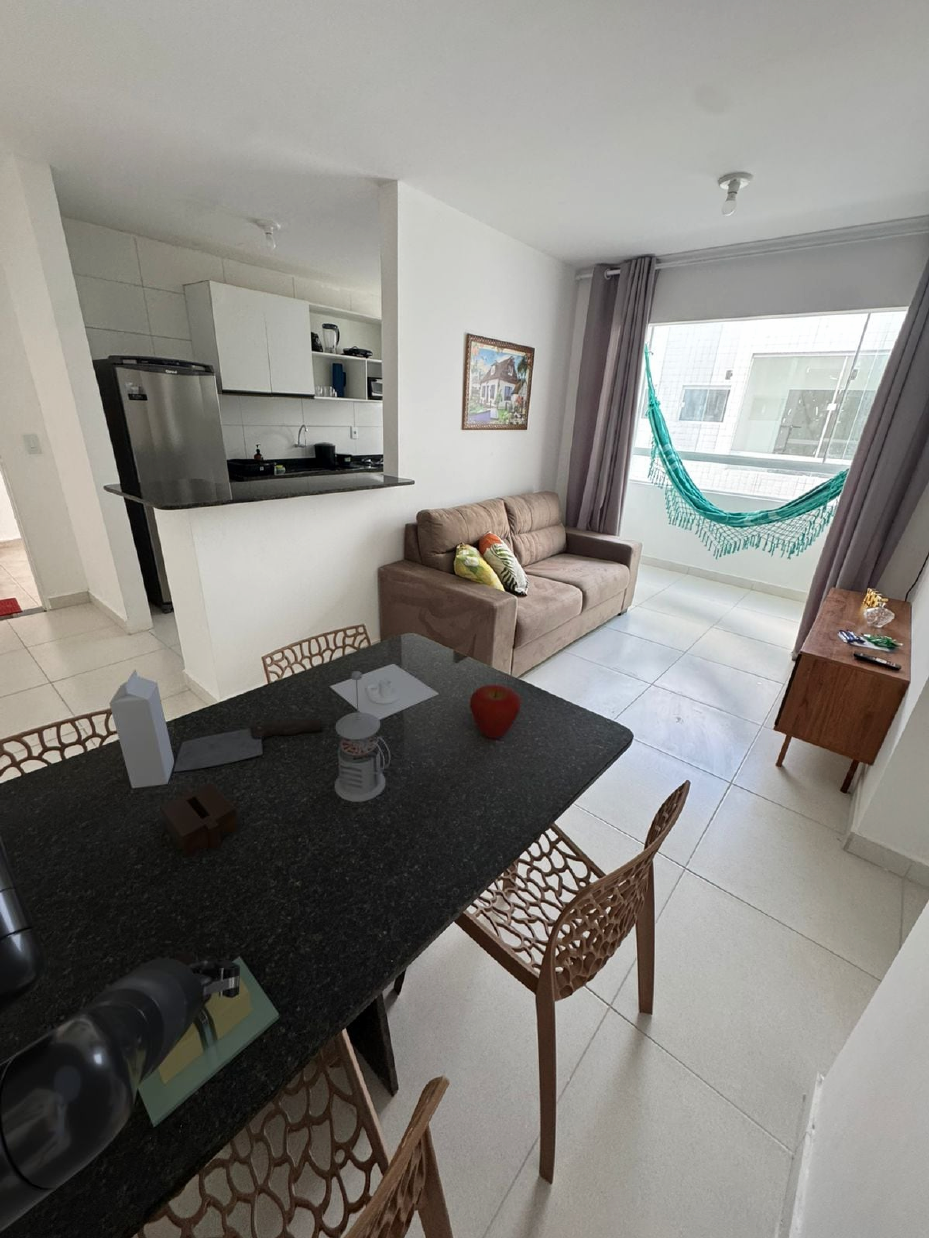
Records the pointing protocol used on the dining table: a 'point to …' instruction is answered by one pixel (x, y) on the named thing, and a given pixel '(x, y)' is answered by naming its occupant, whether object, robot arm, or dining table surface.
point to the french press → (359, 755)
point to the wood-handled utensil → (200, 1017)
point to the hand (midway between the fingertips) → (195, 968)
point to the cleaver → (237, 743)
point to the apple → (494, 709)
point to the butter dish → (191, 1056)
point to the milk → (142, 732)
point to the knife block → (199, 818)
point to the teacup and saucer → (384, 691)
